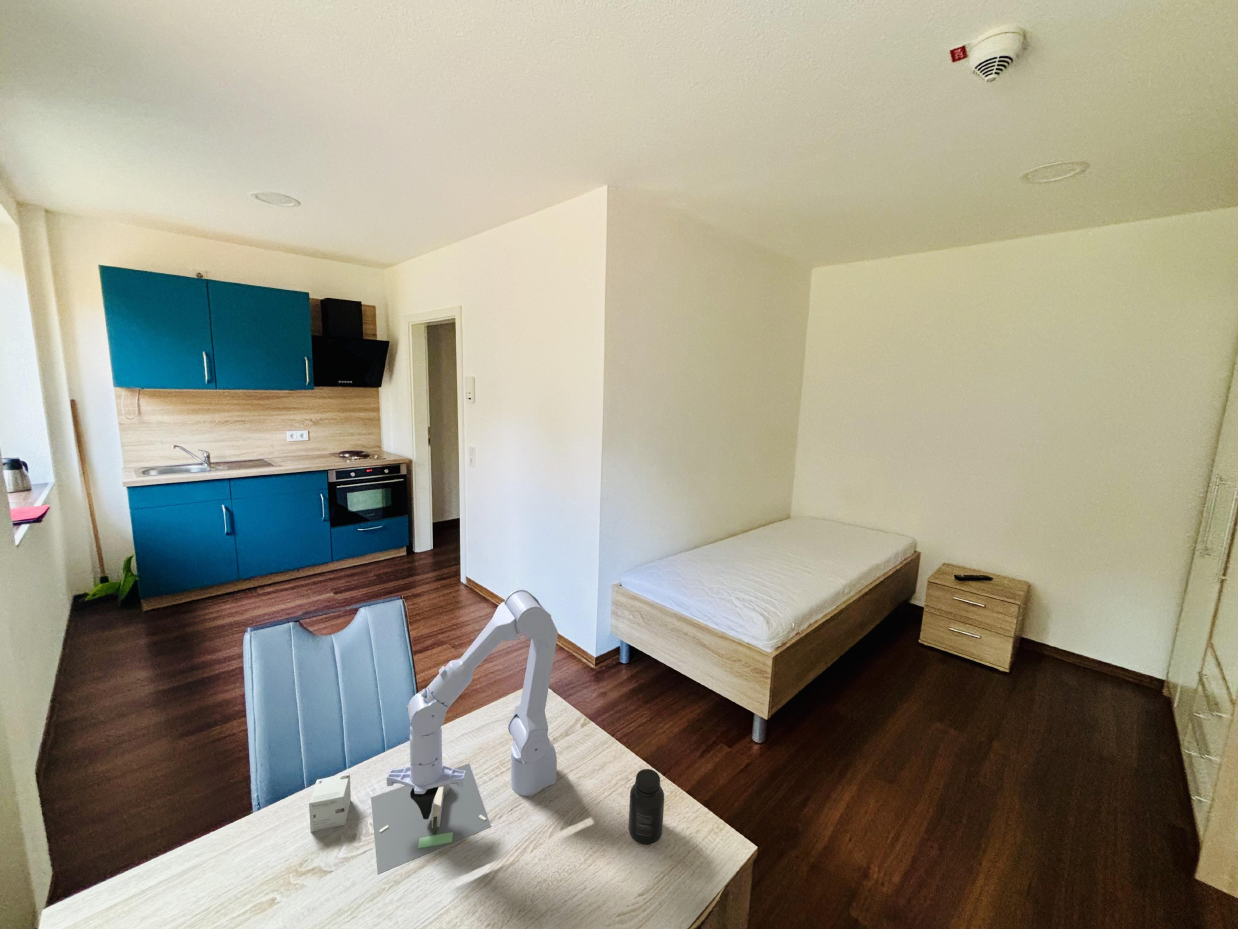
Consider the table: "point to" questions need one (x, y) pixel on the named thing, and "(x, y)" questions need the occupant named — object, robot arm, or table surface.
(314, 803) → the skincare box
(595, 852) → the table surface
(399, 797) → the tuner board
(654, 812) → the supplement bottle
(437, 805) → the peg lever
